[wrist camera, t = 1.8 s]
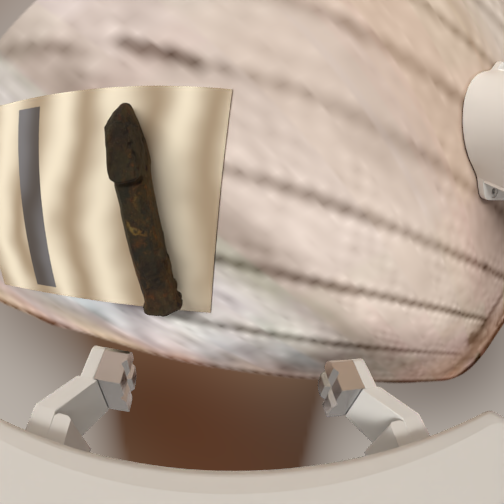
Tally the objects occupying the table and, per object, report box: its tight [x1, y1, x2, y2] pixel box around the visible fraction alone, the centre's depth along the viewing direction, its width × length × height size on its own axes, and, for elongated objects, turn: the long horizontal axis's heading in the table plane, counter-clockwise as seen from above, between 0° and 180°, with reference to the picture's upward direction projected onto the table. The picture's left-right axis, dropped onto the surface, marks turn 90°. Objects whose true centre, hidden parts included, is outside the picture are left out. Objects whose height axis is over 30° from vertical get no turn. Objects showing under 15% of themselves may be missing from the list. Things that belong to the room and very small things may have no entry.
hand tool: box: [104, 103, 183, 316], centre depth 23 cm, size 19×4×5 cm, turn 2°
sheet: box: [0, 86, 232, 312], centre depth 24 cm, size 28×22×1 cm
